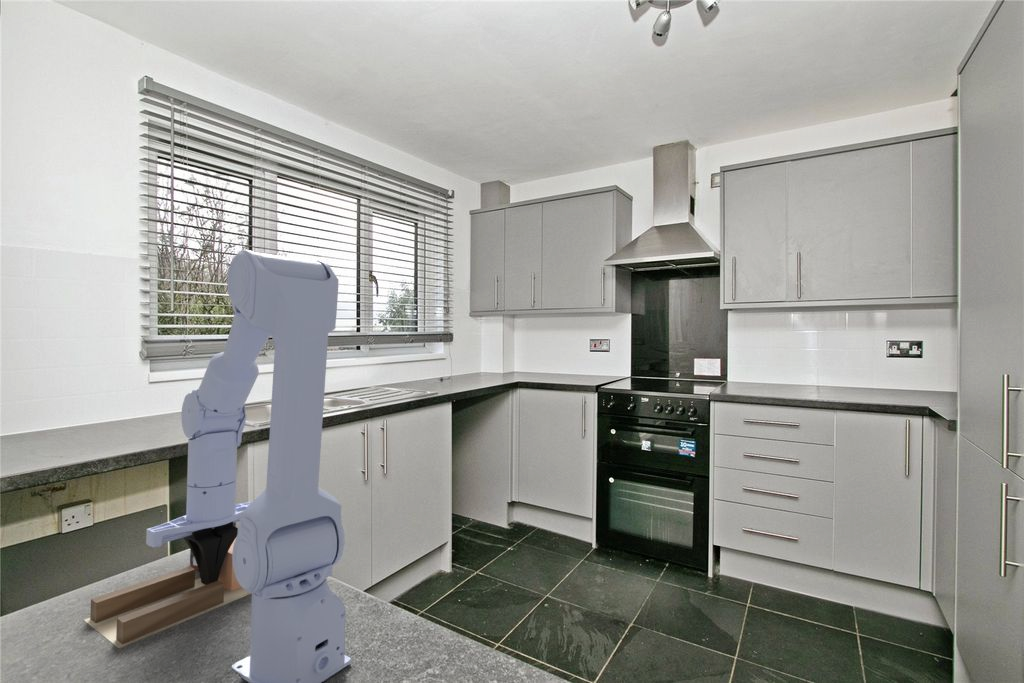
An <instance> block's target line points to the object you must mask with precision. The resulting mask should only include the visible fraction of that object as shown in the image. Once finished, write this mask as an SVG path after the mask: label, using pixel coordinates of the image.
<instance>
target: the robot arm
mask: <svg viewBox="0 0 1024 683" xmlns="http://www.w3.org/2000/svg"><path fill="white" fill-rule="evenodd" d="M227 272H228V273H227V281H226V282H227V293H228V296H229V299H230V303H231V308H232V310H233V312H234V316H233V319H232V322H231V326H230V330H229V334H228V337H227V341H226V344H225V347H224V350H223V351H221V352H218V353H216V354H215V355H213V356H212V357H211V358H210V360H209V363H208V364H207V367H206V370H205V372H204V375H203V377H202V380H201V383H200V385H199V387H198V388H197V389H193V390H192V391H191V392H189V393H187V394H186V395H185V396H184V399H183V402H182V406H181V417H180V419H181V425H182V426H181V427H182V431H183V434H184V435H185V437H186V438H188V439H187V441H188V443H187V473H186V474H187V475H186V476H187V477H186V508H185V510H186V512H185V513H186V514H185V515H182V516H180V517H177V518H175V519H172V520H170V521H166V522H164V523H161V524H158V525H155V526H153V527H149V528H146V530H145V531H146V535H145V544H146V545H147V546H148V547H151V548H153V549H155V548H158V547H161V546H163V544H166V543H168V542H172V541H175V540H178V539H182V538H183V540H184V541H185V543H186V544H187V546H188V548H189V550H190V549H191V551H192V553H193V555H194V558H195V560H196V563H197V566H198V569H199V570H198V572H199V576H200V577H199V578H201V583H203V584H205V585H207V584H210V583H213V582H215V581H218V578H219V574H220V571H221V568H222V565H223V562H224V559H225V557H226V555H227V552H228V550H229V548H230V547H231V545H232V543H233V541H234V540H235V542H234V545H233V554H232V559H233V568H234V573H235V576H236V579H237V581H238V583H239V585H240V586H241V587H242V588H244V589H245V590H246V591H247V592H249V593H251V610H250V612H251V613H250V614H251V615H250V617H251V618H250V643H249V644H250V648H249V651H250V652H249V655H248V656H246V657H245V658H243V659H241V660H239V661H237V662H235V663H234V664H232V665H231V670H233V671H234V672H236V673H238V677H240V678H242V679H243V680H244V681H246V682H248V683H322V682H324V681H326V680H327V679H329V678H330V677H332V676H334V675H335V674H336V673H338V672H340V671H341V670H343V669H344V668H346V667H347V666H349V665H351V662H352V659H351V657H350V656H348V655H346V654H345V653H346V652H345V650H346V648H345V647H346V617H347V616H346V615H347V614H346V606H345V604H344V603H345V602H344V601H343V600H342V599H341V598H340V597H339V596H338V595H337V594H335V593H334V591H332V589H331V587H330V586H329V583H328V581H327V578H329V577H332V576H333V566H334V565H336V564H338V563H339V561H340V560H341V558H342V556H343V552H344V549H345V544H346V540H345V539H346V538H345V530H344V526H343V524H342V523H343V522H342V521H343V520H342V505H341V503H340V502H339V501H338V499H337V498H336V497H335V496H333V495H332V494H330V493H329V492H327V491H326V490H324V489H322V488H321V487H319V482H320V481H319V479H320V465H321V464H320V463H321V452H322V451H321V449H322V438H323V437H322V433H323V421H324V418H323V417H324V403H325V391H326V390H325V387H326V372H327V357H328V343H329V333H331V332H333V331H334V330H336V326H337V325H336V322H337V313H338V312H337V311H338V296H339V278H338V276H337V275H336V274H335V272H334V271H333V269H332V268H331V266H330V265H329V263H327V262H325V261H322V260H316V261H314V260H308V259H301V258H295V257H289V256H288V257H286V256H282V255H273V254H268V253H261V252H254V251H253V250H249V249H242V250H240V251H239V252H238V253H237V254H236V255H234V257H233V258H232V260H231V261H230V264H229V267H228V270H227ZM270 338H272V341H273V342H274V354H273V355H274V358H273V359H274V360H273V369H272V370H273V372H272V385H271V386H272V390H271V403H270V404H271V405H270V406H271V407H270V421H269V440H268V454H267V456H268V457H267V471H266V472H267V473H266V485H265V486H266V488H265V489H264V490H263V492H261V494H259V495H258V497H256V498H255V499H254V501H248V502H243V503H242V502H241V503H237V502H236V500H237V498H236V496H237V467H238V466H237V465H238V463H237V462H238V447H240V446H241V443H242V436H243V431H244V428H245V425H246V420H247V413H246V405H245V404H246V402H247V400H248V397H249V395H250V393H251V391H252V389H253V387H254V385H255V383H256V380H257V379H258V376H259V374H260V372H259V371H260V370H259V366H258V365H257V362H256V360H257V358H258V357H259V355H260V353H261V351H262V350H263V348H264V347H265V345H266V343H267V342H268V340H269V339H270ZM235 522H236V523H238V522H239V525H238V527H237V526H236V527H234V526H233V523H235ZM235 538H236V539H235Z"/></svg>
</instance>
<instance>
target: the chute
mask: <svg viewBox="0 0 1024 683" xmlns="http://www.w3.org/2000/svg"><path fill="white" fill-rule="evenodd" d="M195 580H196V570H195V569H194V568H192V567H190V565H189V566H185V567H184V568H180V569H177V570H174V571H172V572H168V573H165V574H162V575H160V576H156V577H154V578H150V579H147V580H144V581H141V582H138V583H135V584H133V585H129V586H127V587H124V588H123V587H122V588H121V589H118V590H114V591H111V592H107V593H105V594H102V595H99V596H97V597H93V598H91V599H90V613H89V614H90V617H89V618H90V619H91V620H92V621H93V622H95V623H98V622H101V621H103V620H106V619H109V618H111V617H114V616H117V615H120V614H122V613H125V612H128V611H130V610H133V609H136V608H139V607H141V606H144V605H147V604H149V603H152V602H155V601H158V600H160V599H163V598H166V597H168V596H171V595H174V594H177V593H179V592H182V591H185V590H187V589H190V588H193V587H195ZM222 603H224V584H223V583H221V582H219V581H215V582H213V583H210V584H207V585H205V586H202V587H199V588H197V589H194V590H191V591H188V592H186V593H183V594H180V595H178V596H175V597H172V598H170V599H167V600H164V601H162V602H159V603H156V604H153V605H151V606H148V607H145V608H143V609H140V610H137V611H135V612H132V613H129V614H127V615H124V616H121V617H118V618H117V631H116V640H117V641H119V642H120V643H121V644H124V643H127V642H129V641H132V640H134V639H136V638H139V637H141V636H144V635H146V634H149V633H151V632H154V631H156V630H158V629H161V628H163V627H166V626H168V625H171V624H173V623H175V622H178V621H180V620H183V619H185V618H188V617H190V616H192V615H195V614H197V613H200V612H202V611H205V610H207V609H209V608H212V607H214V606H217V605H219V604H222Z"/></svg>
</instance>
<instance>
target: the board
mask: <svg viewBox="0 0 1024 683" xmlns="http://www.w3.org/2000/svg"><path fill="white" fill-rule="evenodd" d="M202 586H205V584H203V583H201V578H200V577H199V578H195V587H193V588H190V589H187V590H185V591H182V592H179V593H177V594H174V595H171V596H168V597H166V598H163V599H160V600H158V601H155V602H152V603H149V604H147V605H144V606H141V607H139V608H136V609H133V610H130V611H128V612H125V613H122V614H120V615H117V616H114V617H111V618H109V619H106V620H103V621H101V622H98V623H95V622H93V621H92V620H91V619H90V617H88V618H85V619H84V618H83V621H84V622H85V623H87V625H89V626H90V627H91V628H92V629H94V630H95V631H96V632H98V633H99V634H100V635H102V636H103V638H105V639H106V640H107V641H109V642H110V643H111V644H113V645H114V646H115V647H116V648H117V649H122V648H124V647H126V646H128V645H130V644H134V643H136V642H139V641H140V640H143V639H145V638H148V637H150V636H153V635H155V634H158V633H159V632H162V631H165V630H166V629H169V628H172V627H174V626H177V625H179V624H181V623H184V622H186V621H188V620H191V619H193V618H196V617H199V616H201V615H203V614H206V613H208V612H210V611H213V610H216V609H218V608H220V607H222V606H224V605H227V604H230V603H233V602H235V601H236V600H240V599H242V598H244V597H247V596H249V595H252V593H249V592H247V591H246V590H245V589H244V588H242V587H241V588H239V589H236V590H234V591H229V590H227V589H225V588H224V603H222V604H219V605H217V606H214V607H212V608H209V609H207V610H205V611H202V612H200V613H197V614H195V615H192V616H190V617H188V618H185V619H183V620H180V621H178V622H175V623H173V624H171V625H168V626H166V627H163V628H161V629H158V630H156V631H154V632H151V633H149V634H146V635H144V636H141V637H139V638H136V639H134V640H132V641H129V642H127V643H124V644H121V643H120V642H119V641H117V640H116V631H117V618H118V617H121V616H124V615H127V614H129V613H132V612H135V611H137V610H140V609H143V608H145V607H148V606H151V605H153V604H156V603H159V602H162V601H164V600H167V599H170V598H172V597H175V596H178V595H180V594H183V593H186V592H188V591H191V590H194V589H197V588H199V587H202Z"/></svg>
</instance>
